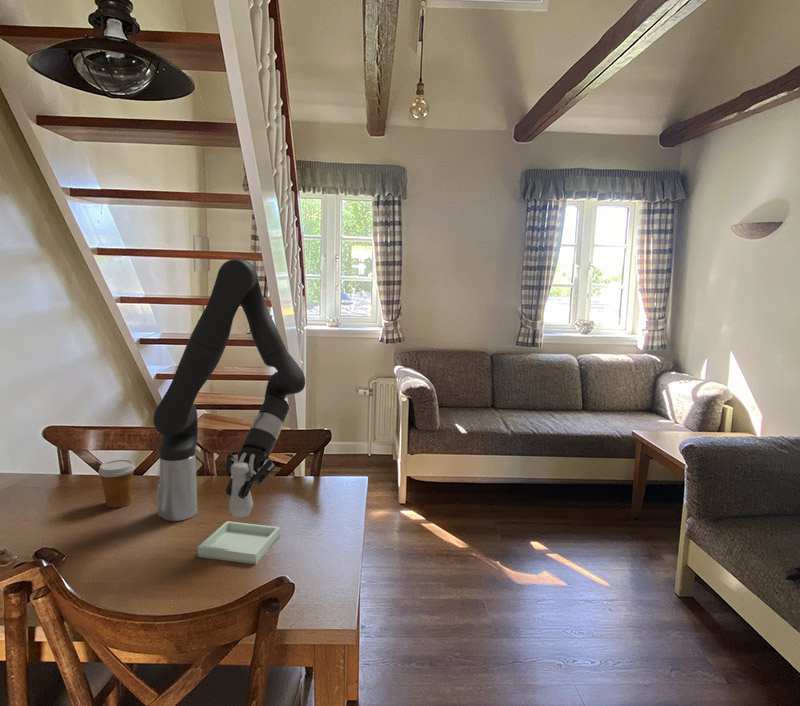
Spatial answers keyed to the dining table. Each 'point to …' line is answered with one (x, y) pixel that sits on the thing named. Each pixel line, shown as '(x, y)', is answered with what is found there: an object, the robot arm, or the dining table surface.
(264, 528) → the tray
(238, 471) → the salt shaker
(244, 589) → the dining table surface
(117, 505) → the disposable coffee cup
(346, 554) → the dining table surface
